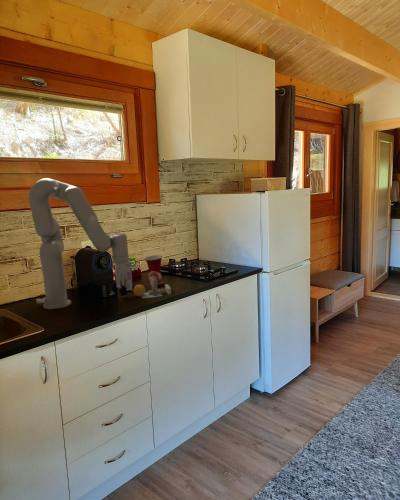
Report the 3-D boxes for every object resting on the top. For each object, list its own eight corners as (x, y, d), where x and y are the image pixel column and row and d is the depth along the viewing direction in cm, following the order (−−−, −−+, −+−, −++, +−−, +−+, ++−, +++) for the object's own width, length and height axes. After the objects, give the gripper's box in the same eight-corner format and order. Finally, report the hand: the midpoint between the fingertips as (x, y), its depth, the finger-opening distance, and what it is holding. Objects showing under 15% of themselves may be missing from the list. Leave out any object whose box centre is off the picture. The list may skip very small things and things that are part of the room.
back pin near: (153, 296, 190) (152, 279, 188) (152, 295, 192) (151, 278, 191) (158, 296, 190) (156, 279, 189) (157, 294, 193) (156, 278, 191)
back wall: (168, 294, 192) (167, 288, 192) (165, 290, 201) (164, 284, 200) (171, 294, 193) (170, 288, 192) (168, 289, 201) (167, 284, 201)
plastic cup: (142, 276, 235) (140, 257, 233) (154, 273, 244) (153, 254, 242) (155, 278, 229) (153, 258, 227) (167, 274, 237) (165, 255, 235)
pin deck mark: (142, 298, 187) (142, 298, 187) (140, 293, 197) (140, 293, 197) (162, 296, 189) (162, 295, 189) (159, 291, 199) (159, 290, 199)
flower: (141, 283, 210) (145, 273, 206) (150, 276, 217) (154, 266, 213) (155, 294, 208) (159, 283, 204) (163, 286, 216) (168, 276, 211)
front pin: (148, 291, 191) (165, 289, 194) (148, 290, 194) (164, 288, 196) (149, 295, 192) (165, 293, 194) (148, 294, 194) (165, 292, 196)
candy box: (133, 290, 203) (131, 260, 201) (122, 292, 201) (120, 261, 198) (126, 285, 216) (124, 256, 213) (116, 286, 213) (113, 258, 211)
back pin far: (151, 294, 194) (150, 277, 193) (151, 292, 197) (150, 276, 195) (156, 293, 195) (155, 277, 194) (155, 292, 197) (154, 276, 196)
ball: (146, 285, 189) (145, 297, 189) (144, 283, 194) (144, 294, 195) (134, 285, 187) (133, 297, 188) (133, 283, 193) (132, 294, 194)
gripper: (112, 257, 193) (115, 292, 196) (113, 262, 179) (116, 300, 181) (127, 255, 195) (130, 290, 198) (129, 260, 180) (132, 298, 183)
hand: (123, 295), depth 189 cm, fingers closed
